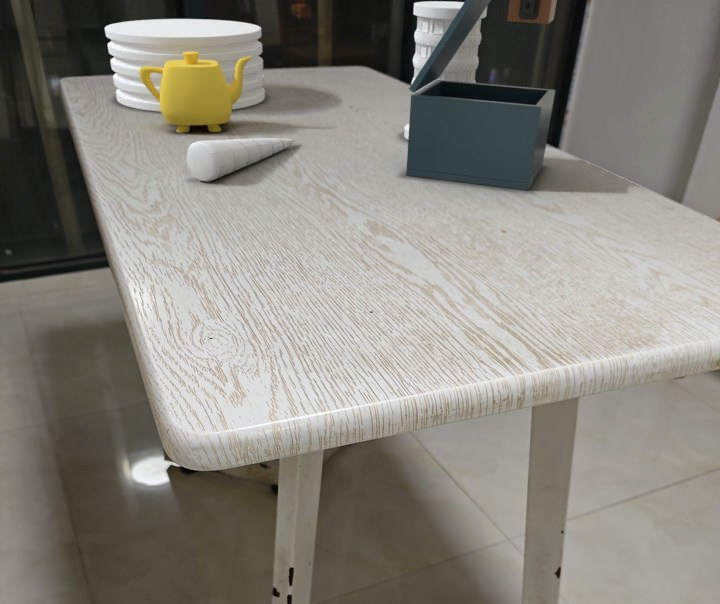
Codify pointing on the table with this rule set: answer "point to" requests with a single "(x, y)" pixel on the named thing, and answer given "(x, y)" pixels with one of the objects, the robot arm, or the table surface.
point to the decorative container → (429, 33)
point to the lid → (450, 43)
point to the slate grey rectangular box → (478, 133)
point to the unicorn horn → (229, 155)
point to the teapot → (195, 91)
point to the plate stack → (169, 41)
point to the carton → (544, 14)
